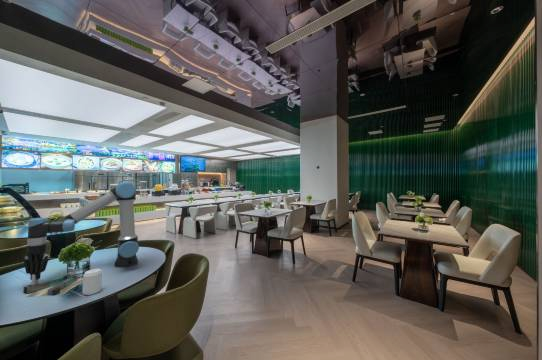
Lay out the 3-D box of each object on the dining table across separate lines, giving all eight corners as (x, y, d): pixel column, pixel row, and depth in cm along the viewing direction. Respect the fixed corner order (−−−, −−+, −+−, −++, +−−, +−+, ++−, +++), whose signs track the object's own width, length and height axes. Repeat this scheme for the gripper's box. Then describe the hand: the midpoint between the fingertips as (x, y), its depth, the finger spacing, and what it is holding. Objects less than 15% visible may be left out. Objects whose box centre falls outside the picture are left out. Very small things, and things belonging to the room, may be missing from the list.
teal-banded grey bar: (82, 278, 130) (83, 273, 131) (55, 295, 110) (55, 289, 111) (70, 279, 129) (71, 274, 129) (40, 296, 109) (41, 290, 109)
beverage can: (90, 289, 120) (91, 268, 120) (104, 288, 121) (105, 268, 121) (78, 296, 112) (79, 274, 112) (93, 295, 112) (94, 273, 113)
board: (88, 279, 132) (88, 277, 132) (61, 296, 111) (62, 294, 111) (58, 281, 129) (58, 279, 129) (24, 299, 108) (25, 297, 108)
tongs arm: (76, 279, 129) (76, 273, 129) (27, 294, 110) (27, 287, 110) (71, 277, 132) (71, 271, 132) (23, 292, 113) (23, 285, 113)
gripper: (55, 242, 125) (53, 281, 124) (30, 243, 122) (28, 282, 121) (44, 245, 117) (42, 287, 116) (17, 246, 115) (14, 289, 114)
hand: (35, 284), depth 119 cm, fingers closed
